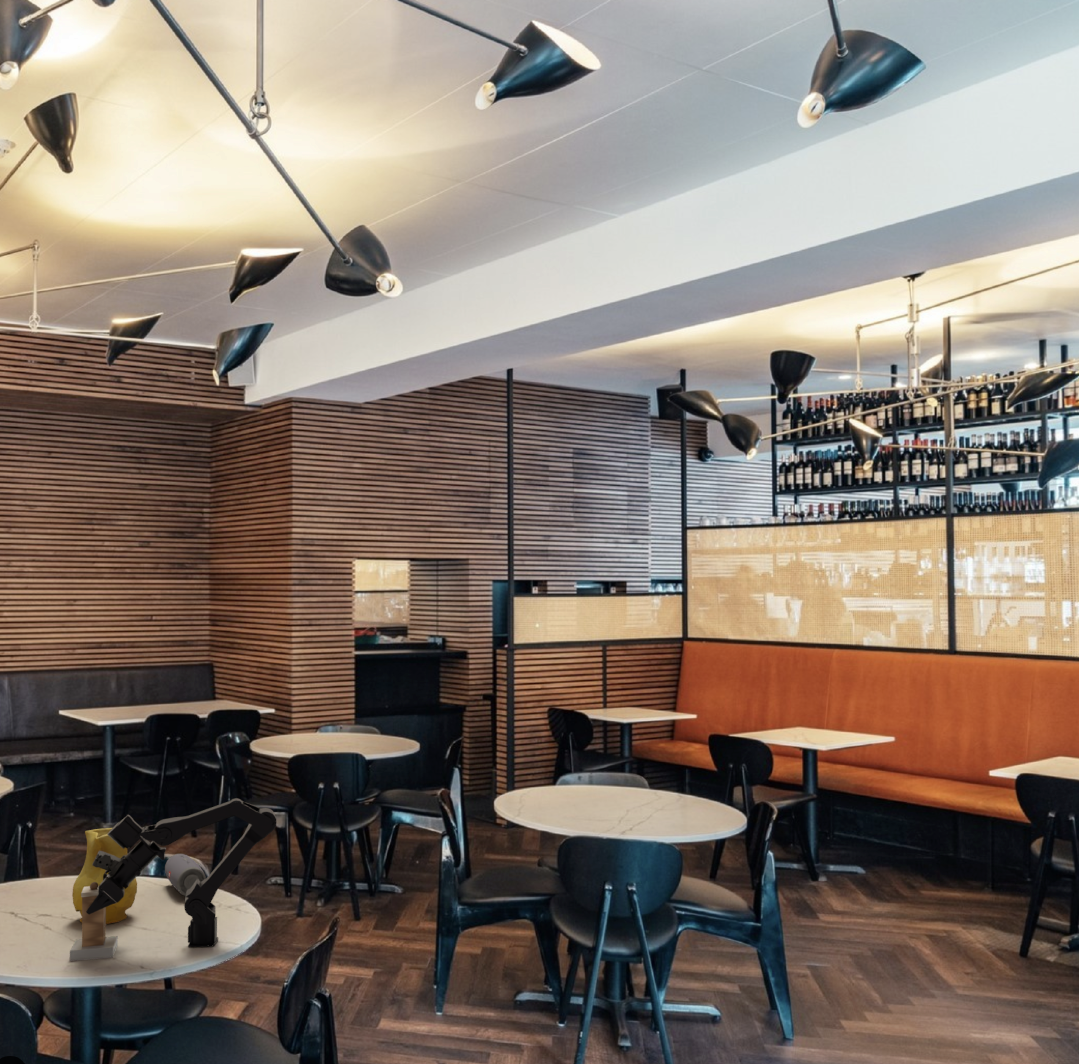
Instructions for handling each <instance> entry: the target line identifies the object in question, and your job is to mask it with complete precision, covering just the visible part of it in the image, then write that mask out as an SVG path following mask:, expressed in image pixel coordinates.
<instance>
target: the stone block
mask: <svg viewBox="0 0 1079 1064" xmlns="http://www.w3.org/2000/svg"><path fill="white" fill-rule="evenodd" d="M118 939H119V938H118V935H115V936H114V935H113V936H106V939H105V942H104V945H98V946H87V947H82V938H76V939H75V941H74V943H73V944H72V946H71V948H70V949H69V961H71V962H72V961H85V960H87V961H88V960H97V959H113V958H114V956H115V955H114V954H115V953H116V950H117V948H118V944H119V943H118Z"/></svg>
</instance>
